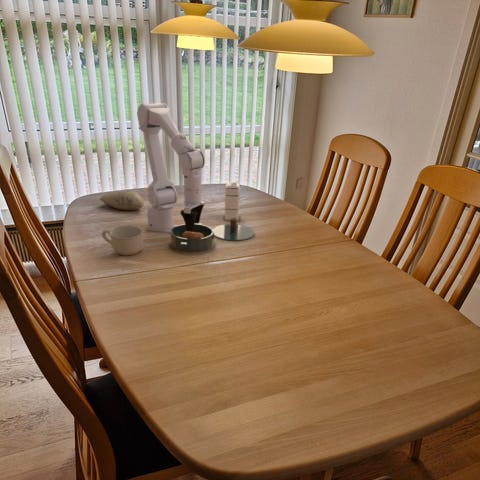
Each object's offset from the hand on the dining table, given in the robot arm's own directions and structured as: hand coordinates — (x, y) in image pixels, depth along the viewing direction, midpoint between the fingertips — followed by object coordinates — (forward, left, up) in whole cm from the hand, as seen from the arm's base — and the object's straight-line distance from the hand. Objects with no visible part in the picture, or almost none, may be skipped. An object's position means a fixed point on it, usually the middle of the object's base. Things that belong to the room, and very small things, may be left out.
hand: (193, 226), depth 156 cm
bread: (0, 0, -6) cm, 6 cm away
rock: (-39, +30, -7) cm, 50 cm away
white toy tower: (+8, +31, -7) cm, 33 cm away
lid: (+12, +14, -6) cm, 19 cm away
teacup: (-21, -13, -7) cm, 26 cm away
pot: (0, -1, -7) cm, 7 cm away
